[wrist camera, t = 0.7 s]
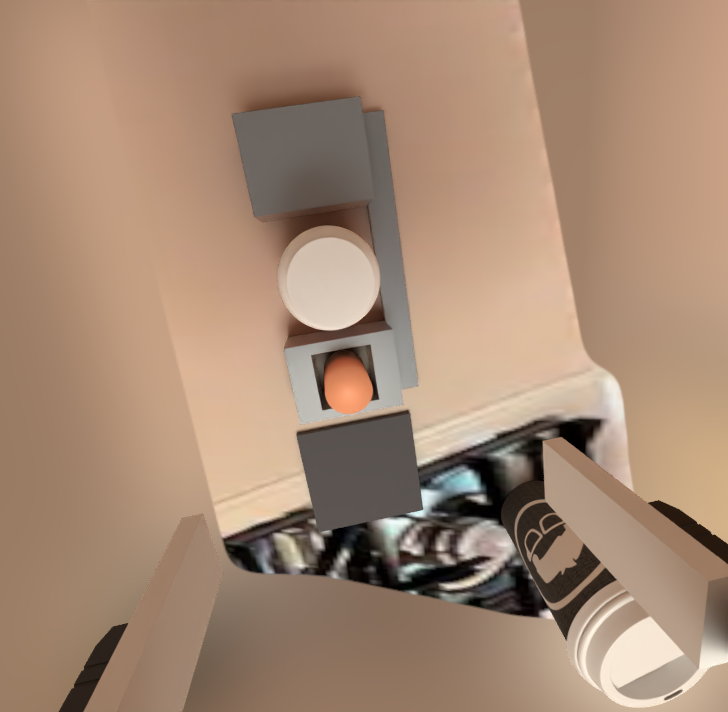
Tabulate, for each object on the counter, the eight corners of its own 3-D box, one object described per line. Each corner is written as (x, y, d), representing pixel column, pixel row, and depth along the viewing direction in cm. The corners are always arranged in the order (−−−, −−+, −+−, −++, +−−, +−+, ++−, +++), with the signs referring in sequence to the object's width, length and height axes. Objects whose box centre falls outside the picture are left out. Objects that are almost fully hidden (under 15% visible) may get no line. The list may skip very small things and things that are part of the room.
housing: (243, 133, 27) (231, 114, 23) (381, 114, 28) (391, 92, 24) (302, 404, 33) (300, 424, 29) (416, 383, 34) (428, 399, 30)
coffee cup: (486, 556, 39) (583, 730, 25) (485, 474, 37) (591, 615, 22) (574, 540, 40) (718, 700, 26) (579, 459, 38) (740, 586, 23)
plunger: (320, 354, 30) (320, 373, 25) (360, 347, 30) (368, 364, 25) (327, 392, 31) (329, 418, 26) (367, 385, 31) (376, 409, 26)
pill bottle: (323, 327, 32) (326, 365, 21) (270, 269, 30) (243, 278, 19) (380, 277, 31) (413, 289, 20) (329, 215, 29) (336, 193, 19)
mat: (296, 433, 34) (296, 435, 33) (408, 411, 34) (409, 413, 34) (318, 528, 36) (318, 532, 36) (421, 506, 37) (423, 509, 36)
